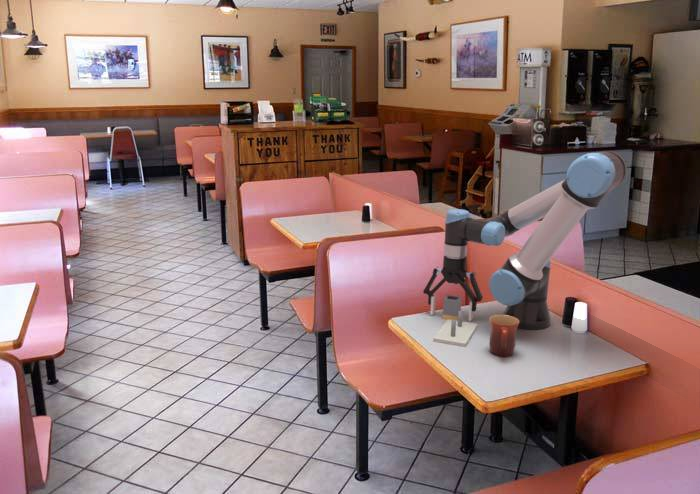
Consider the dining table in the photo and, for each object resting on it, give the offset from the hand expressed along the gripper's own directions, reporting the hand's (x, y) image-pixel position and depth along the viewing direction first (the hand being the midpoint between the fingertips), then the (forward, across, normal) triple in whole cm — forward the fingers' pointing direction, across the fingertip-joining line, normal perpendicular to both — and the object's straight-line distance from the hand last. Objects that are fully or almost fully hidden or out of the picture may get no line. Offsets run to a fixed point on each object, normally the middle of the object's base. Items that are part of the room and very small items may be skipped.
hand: (451, 316), depth 216 cm
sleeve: (0, 0, 0) cm, 0 cm away
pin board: (0, -5, +14) cm, 15 cm away
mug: (0, -21, +24) cm, 32 cm away
